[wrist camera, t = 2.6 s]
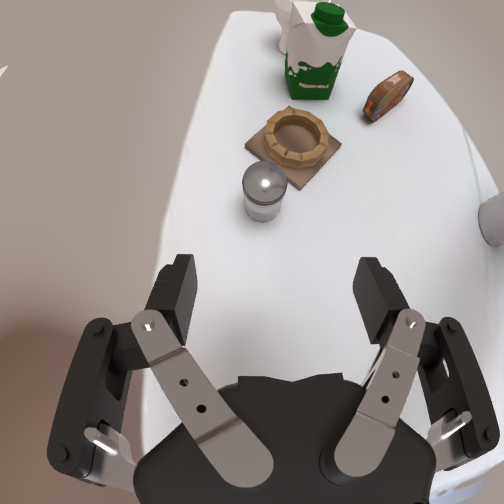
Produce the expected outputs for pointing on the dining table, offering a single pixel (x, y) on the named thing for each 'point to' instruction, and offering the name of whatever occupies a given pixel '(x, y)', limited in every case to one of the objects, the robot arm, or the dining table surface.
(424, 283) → the dining table surface
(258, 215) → the salt shaker
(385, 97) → the tin
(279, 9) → the cup
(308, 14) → the milk carton
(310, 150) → the ring board
